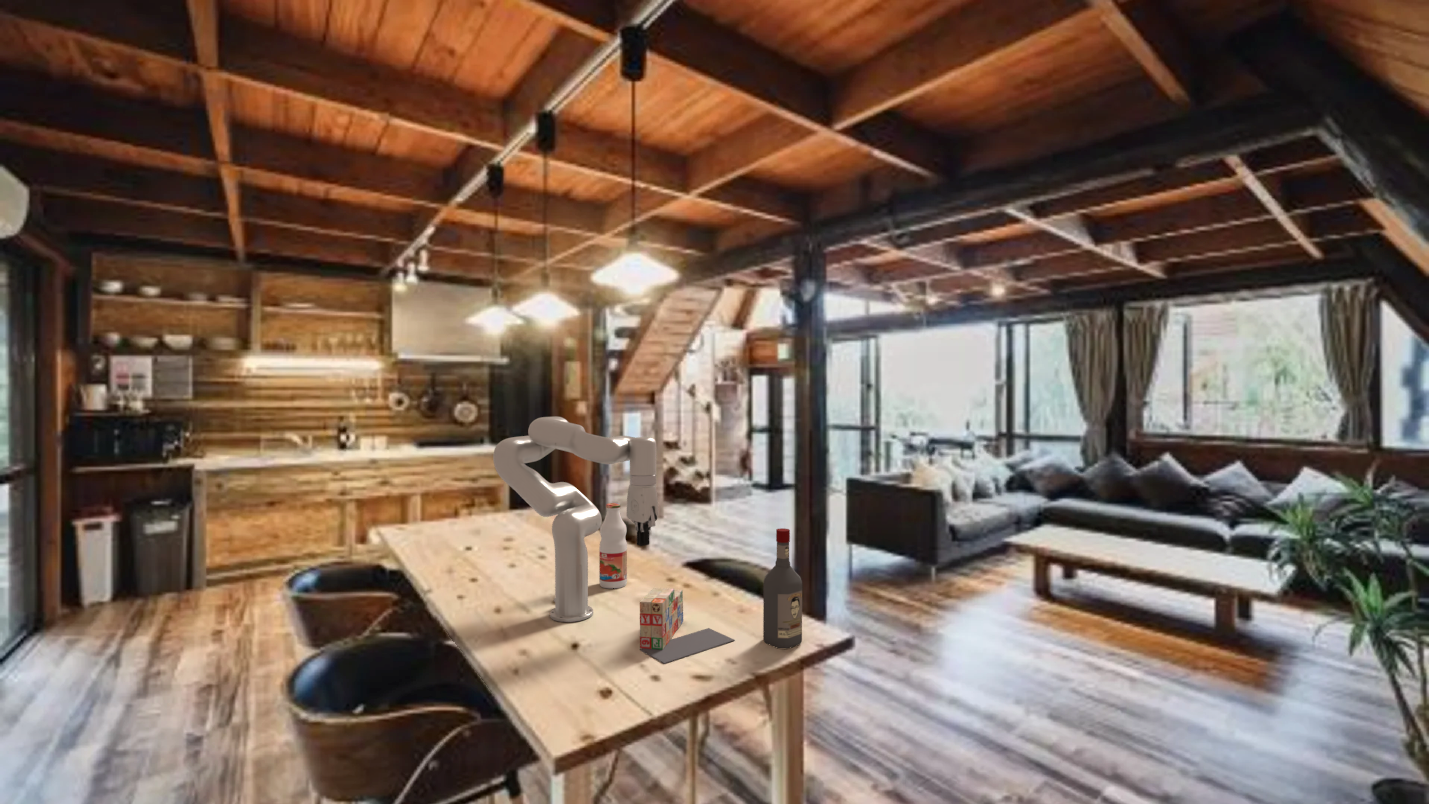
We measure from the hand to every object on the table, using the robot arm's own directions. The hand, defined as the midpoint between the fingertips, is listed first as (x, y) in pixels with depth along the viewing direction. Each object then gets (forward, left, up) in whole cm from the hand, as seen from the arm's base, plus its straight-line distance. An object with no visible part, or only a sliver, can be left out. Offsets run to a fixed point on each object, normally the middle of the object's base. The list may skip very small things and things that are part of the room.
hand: (643, 544), depth 182 cm
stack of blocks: (+10, 0, -23) cm, 25 cm away
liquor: (+34, +22, -23) cm, 47 cm away
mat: (+20, +1, -23) cm, 30 cm away
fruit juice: (-38, +13, -23) cm, 46 cm away
